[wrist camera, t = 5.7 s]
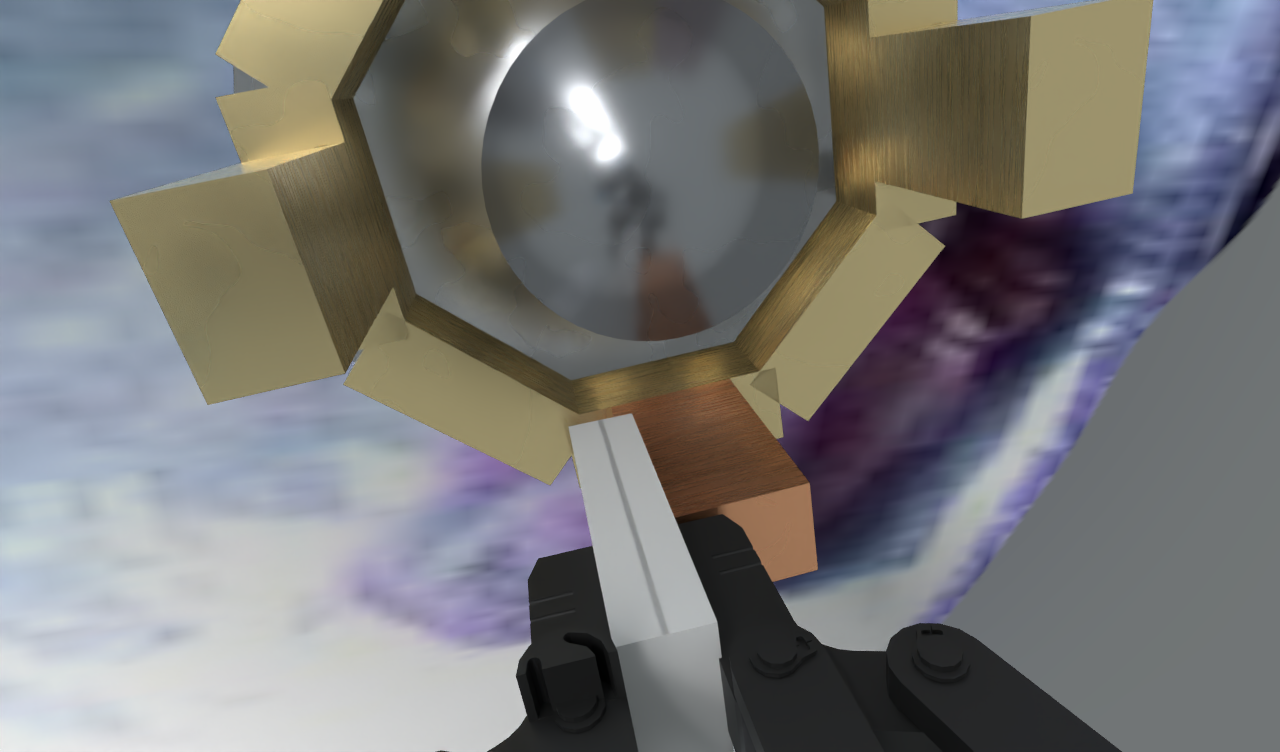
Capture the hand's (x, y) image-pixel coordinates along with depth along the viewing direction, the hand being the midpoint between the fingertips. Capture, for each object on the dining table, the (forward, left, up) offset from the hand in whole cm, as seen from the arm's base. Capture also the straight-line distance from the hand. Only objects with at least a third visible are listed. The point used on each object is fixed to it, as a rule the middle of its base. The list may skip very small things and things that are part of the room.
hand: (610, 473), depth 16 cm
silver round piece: (-6, +2, -6) cm, 9 cm away
